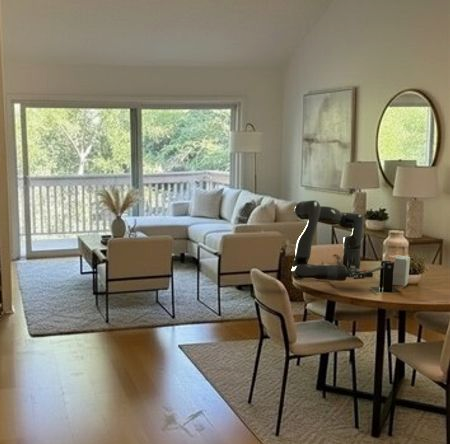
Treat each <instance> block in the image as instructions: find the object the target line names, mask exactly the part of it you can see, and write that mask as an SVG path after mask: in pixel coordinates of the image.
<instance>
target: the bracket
mask: <svg viewBox="0 0 450 444" xmlns="http://www.w3.org/2000/svg"><path fill="white" fill-rule="evenodd" d="M387 262H389V263H387ZM394 263H395V262H392V261H391V260H380V265H379V267H381V266H383V264H384V268H383V269H380V270H379V284H378V285H379V286H369V288H370V289H371V290H372V291H374V292H375V293H391V294H392V293H401V294H402V293H403V292H402V291H400V290H399V289H397V287H394V285H393V273H394Z"/></svg>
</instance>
